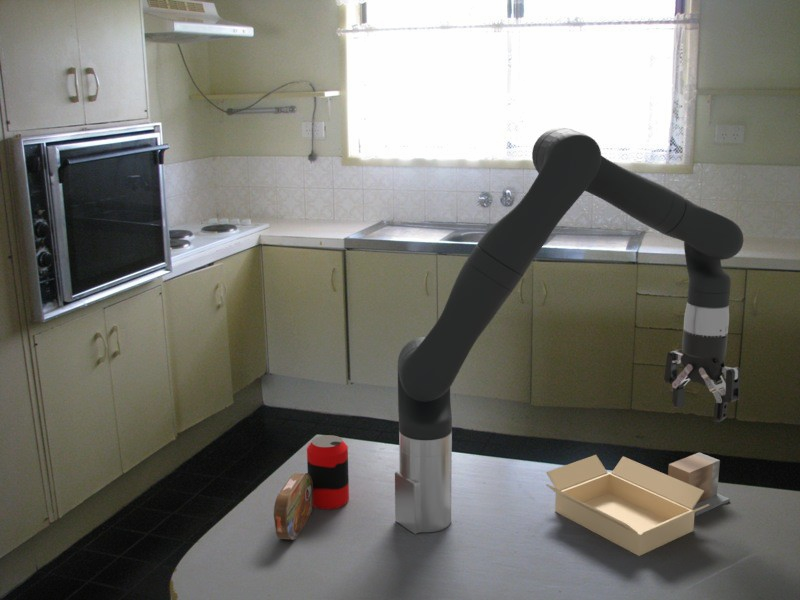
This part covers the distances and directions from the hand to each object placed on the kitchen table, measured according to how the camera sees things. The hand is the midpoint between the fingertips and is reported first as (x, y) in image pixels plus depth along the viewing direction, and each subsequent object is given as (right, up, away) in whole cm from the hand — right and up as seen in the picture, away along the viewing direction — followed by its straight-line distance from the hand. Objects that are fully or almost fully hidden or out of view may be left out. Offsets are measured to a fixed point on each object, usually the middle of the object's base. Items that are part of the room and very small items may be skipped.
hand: (698, 414), depth 158 cm
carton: (-15, -19, -4) cm, 24 cm away
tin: (-73, -20, -4) cm, 76 cm away
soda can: (-68, -17, +5) cm, 70 cm away
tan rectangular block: (0, -16, +4) cm, 17 cm away
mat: (0, -17, +4) cm, 17 cm away
